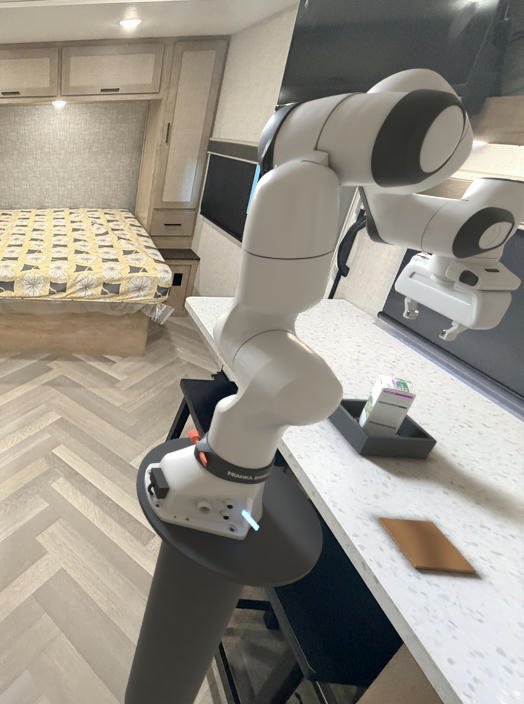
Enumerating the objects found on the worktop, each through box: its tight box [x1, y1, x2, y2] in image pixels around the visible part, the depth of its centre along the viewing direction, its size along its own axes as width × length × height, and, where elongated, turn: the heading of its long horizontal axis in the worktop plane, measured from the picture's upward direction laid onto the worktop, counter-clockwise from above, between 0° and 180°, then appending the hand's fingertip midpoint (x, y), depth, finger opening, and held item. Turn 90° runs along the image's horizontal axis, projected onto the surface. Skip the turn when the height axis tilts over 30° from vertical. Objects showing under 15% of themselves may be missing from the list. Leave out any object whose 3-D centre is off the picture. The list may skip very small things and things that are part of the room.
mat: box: [377, 517, 477, 574], centre depth 69 cm, size 9×9×1 cm
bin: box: [327, 397, 438, 459], centre depth 91 cm, size 14×14×5 cm
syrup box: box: [357, 374, 417, 437], centre depth 89 cm, size 6×6×14 cm
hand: (426, 328), depth 84 cm, fingers open, 8 cm apart
